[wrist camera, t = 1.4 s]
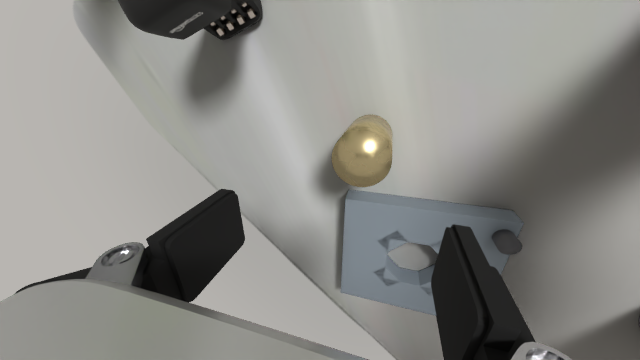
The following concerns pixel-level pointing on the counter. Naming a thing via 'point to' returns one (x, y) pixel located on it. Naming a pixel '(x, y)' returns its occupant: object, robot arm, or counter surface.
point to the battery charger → (192, 16)
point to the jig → (416, 227)
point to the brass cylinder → (364, 152)
